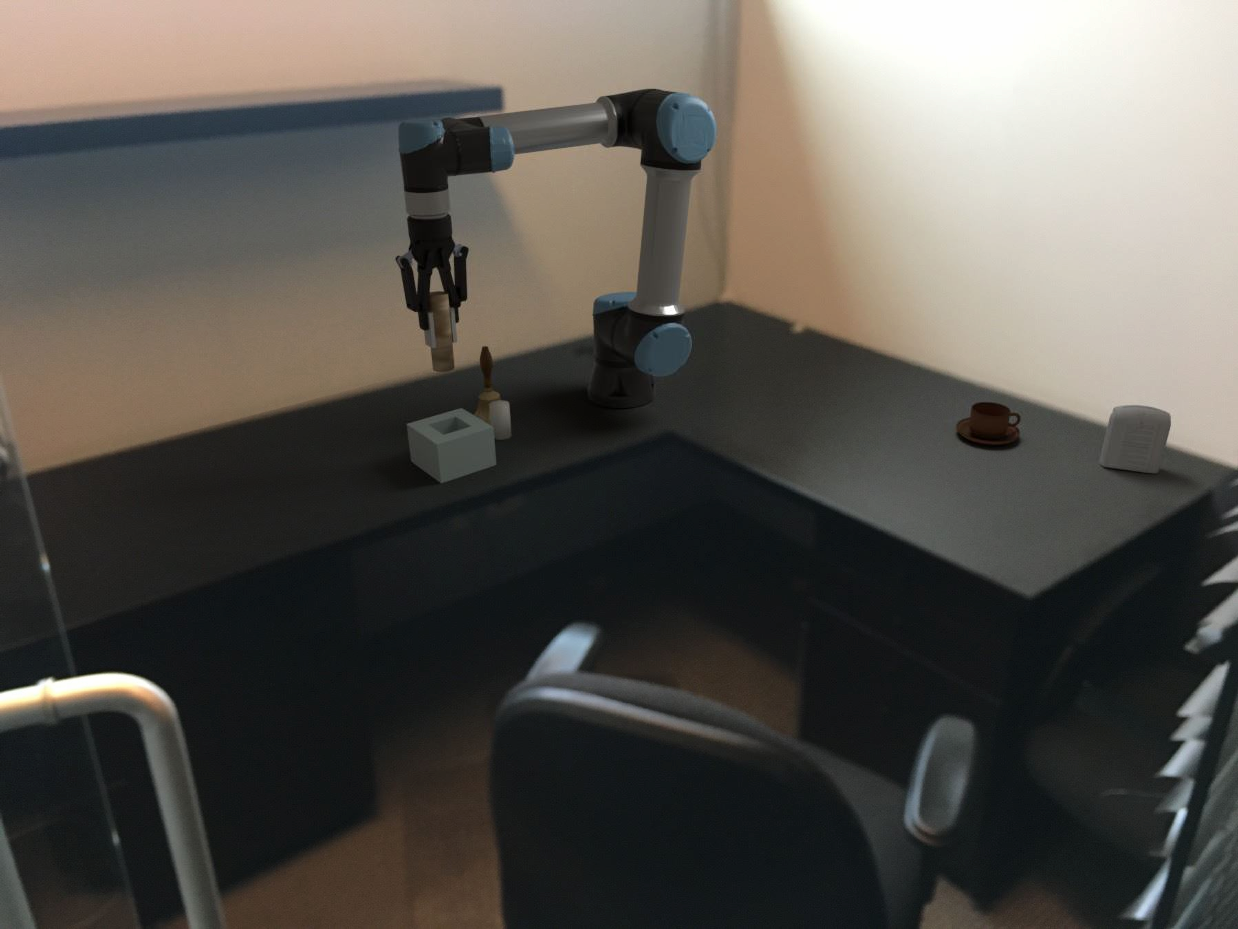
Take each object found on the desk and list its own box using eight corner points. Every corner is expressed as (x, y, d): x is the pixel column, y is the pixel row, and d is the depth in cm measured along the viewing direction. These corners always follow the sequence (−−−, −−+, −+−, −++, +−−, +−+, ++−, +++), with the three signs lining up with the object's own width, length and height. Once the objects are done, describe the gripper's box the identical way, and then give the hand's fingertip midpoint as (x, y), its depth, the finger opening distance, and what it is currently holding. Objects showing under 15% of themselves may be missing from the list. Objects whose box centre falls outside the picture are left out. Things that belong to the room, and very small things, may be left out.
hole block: (465, 444, 201) (461, 407, 197) (496, 465, 192) (493, 427, 188) (411, 461, 194) (406, 423, 190) (441, 483, 185) (437, 444, 182)
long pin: (448, 362, 187) (441, 289, 181) (458, 368, 184) (452, 294, 178) (428, 367, 185) (421, 293, 178) (439, 373, 182) (431, 298, 176)
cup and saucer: (991, 421, 207) (996, 393, 204) (1031, 444, 197) (1036, 415, 194) (942, 430, 203) (946, 402, 201) (980, 454, 193) (985, 425, 190)
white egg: (504, 429, 207) (502, 398, 204) (515, 436, 204) (512, 404, 201) (488, 435, 205) (485, 403, 201) (498, 441, 202) (495, 409, 199)
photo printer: (1157, 466, 187) (1172, 405, 181) (1160, 476, 183) (1176, 414, 178) (1097, 458, 190) (1111, 398, 185) (1099, 468, 187) (1113, 407, 181)
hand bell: (463, 422, 211) (457, 350, 204) (486, 408, 217) (480, 338, 210) (496, 429, 207) (491, 356, 200) (518, 414, 214) (513, 344, 207)
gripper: (460, 203, 179) (470, 328, 189) (374, 217, 170) (390, 348, 180) (481, 210, 174) (491, 338, 184) (394, 225, 165) (409, 359, 175)
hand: (441, 343), depth 182 cm, fingers closed on long pin, 4 cm apart
